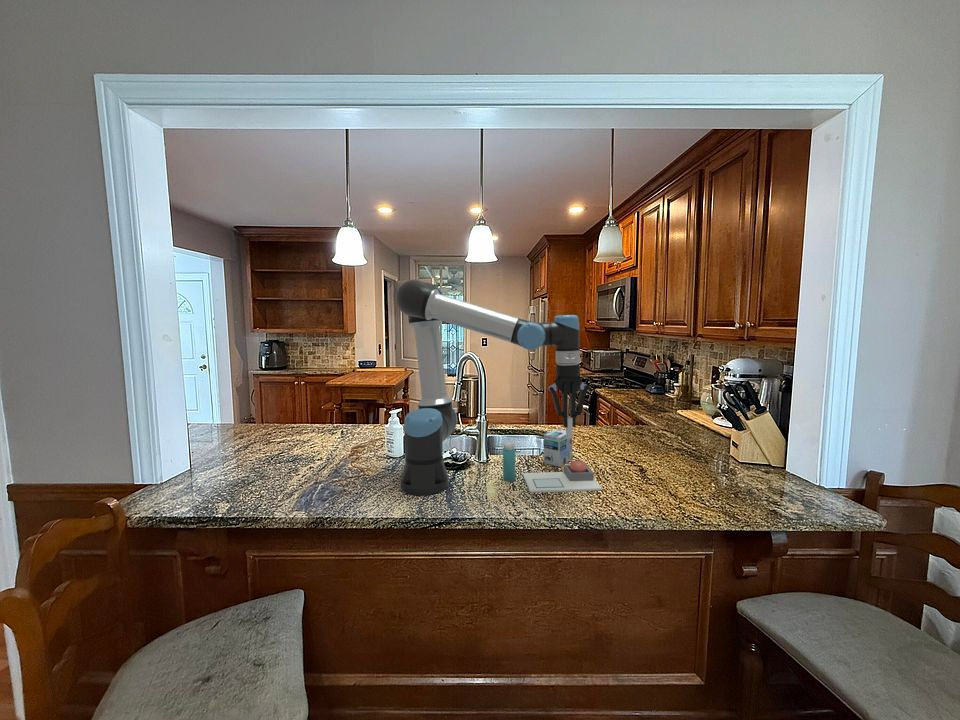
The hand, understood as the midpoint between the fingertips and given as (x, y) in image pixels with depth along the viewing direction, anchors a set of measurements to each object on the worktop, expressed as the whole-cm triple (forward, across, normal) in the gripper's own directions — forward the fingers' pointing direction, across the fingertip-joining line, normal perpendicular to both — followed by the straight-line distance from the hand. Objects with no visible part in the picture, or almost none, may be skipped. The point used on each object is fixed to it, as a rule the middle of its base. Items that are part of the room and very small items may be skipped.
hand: (569, 436), depth 127 cm
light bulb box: (+14, 0, +16) cm, 22 cm away
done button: (+12, +3, 0) cm, 12 cm away
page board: (+14, -4, -3) cm, 15 cm away
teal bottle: (+13, -20, +1) cm, 24 cm away
